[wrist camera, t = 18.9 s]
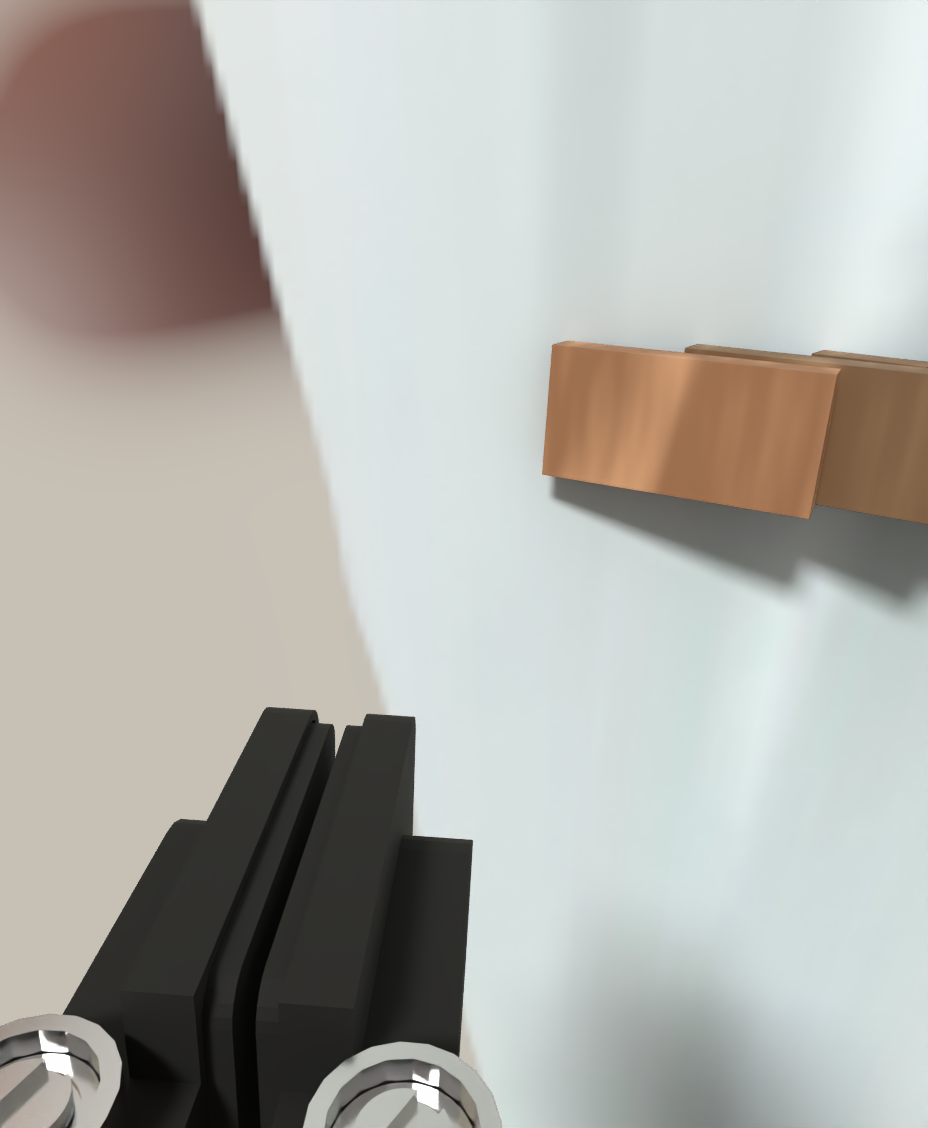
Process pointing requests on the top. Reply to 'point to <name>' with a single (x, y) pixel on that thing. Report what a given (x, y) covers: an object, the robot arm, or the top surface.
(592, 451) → the domino
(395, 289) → the top surface
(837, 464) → the domino
